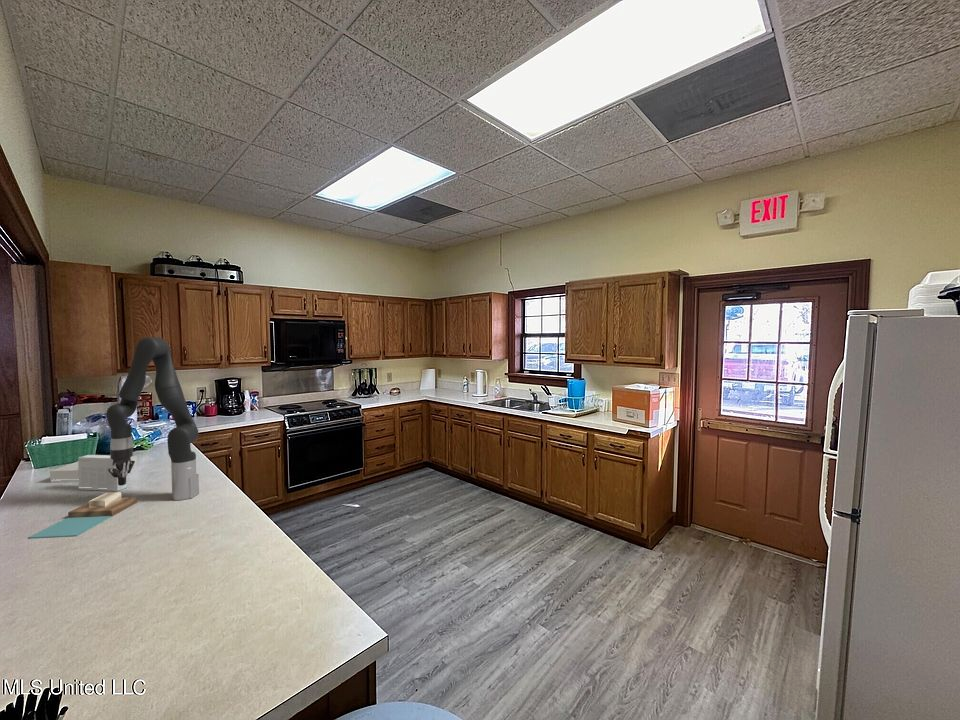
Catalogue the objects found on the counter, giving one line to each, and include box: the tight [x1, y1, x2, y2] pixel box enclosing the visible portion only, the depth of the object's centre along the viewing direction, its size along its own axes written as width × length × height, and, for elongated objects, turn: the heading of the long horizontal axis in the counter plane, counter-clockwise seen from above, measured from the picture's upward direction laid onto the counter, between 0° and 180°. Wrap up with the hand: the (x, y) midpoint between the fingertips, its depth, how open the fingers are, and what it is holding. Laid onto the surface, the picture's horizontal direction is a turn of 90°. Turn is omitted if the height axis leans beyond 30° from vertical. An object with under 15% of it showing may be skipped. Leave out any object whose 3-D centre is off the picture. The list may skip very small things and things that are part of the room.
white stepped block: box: [49, 455, 138, 484], centre depth 214 cm, size 24×24×6 cm
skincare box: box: [77, 454, 128, 492], centre depth 194 cm, size 21×5×16 cm, turn 84°
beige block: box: [88, 491, 123, 508], centre depth 171 cm, size 6×9×3 cm, turn 7°
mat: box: [27, 516, 112, 539], centre depth 155 cm, size 16×16×1 cm
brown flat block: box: [67, 496, 138, 518], centre depth 170 cm, size 16×14×2 cm
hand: (122, 484), depth 181 cm, fingers closed
